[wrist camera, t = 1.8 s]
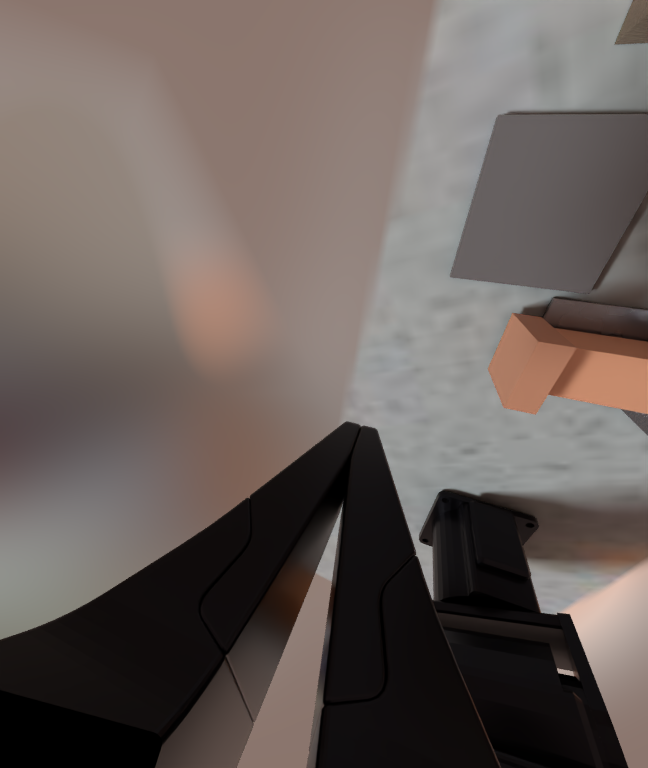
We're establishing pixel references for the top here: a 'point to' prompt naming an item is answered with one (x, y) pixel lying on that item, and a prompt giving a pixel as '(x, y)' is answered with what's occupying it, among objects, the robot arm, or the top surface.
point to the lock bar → (568, 367)
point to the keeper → (601, 327)
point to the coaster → (554, 199)
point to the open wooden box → (635, 24)
